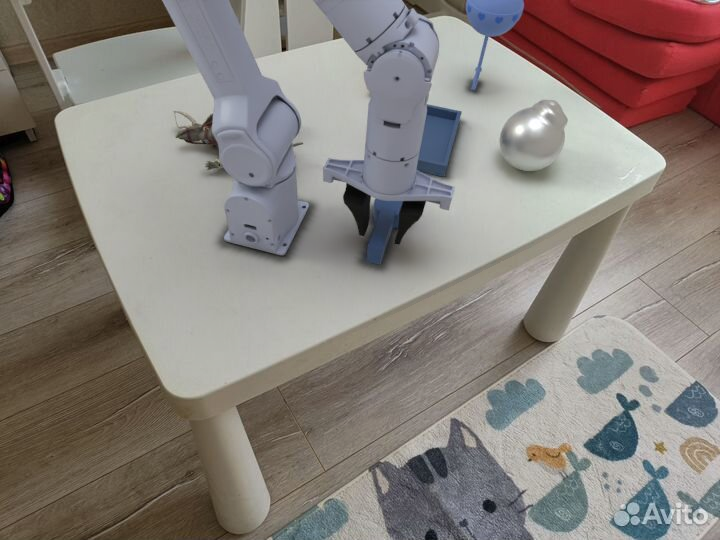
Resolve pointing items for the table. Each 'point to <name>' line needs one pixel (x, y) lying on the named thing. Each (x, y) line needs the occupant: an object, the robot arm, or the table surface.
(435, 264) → the table surface
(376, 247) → the blue spoon
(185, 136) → the figurine
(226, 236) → the robot arm
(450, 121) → the blue tray
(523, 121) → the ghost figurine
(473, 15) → the baby rattle
